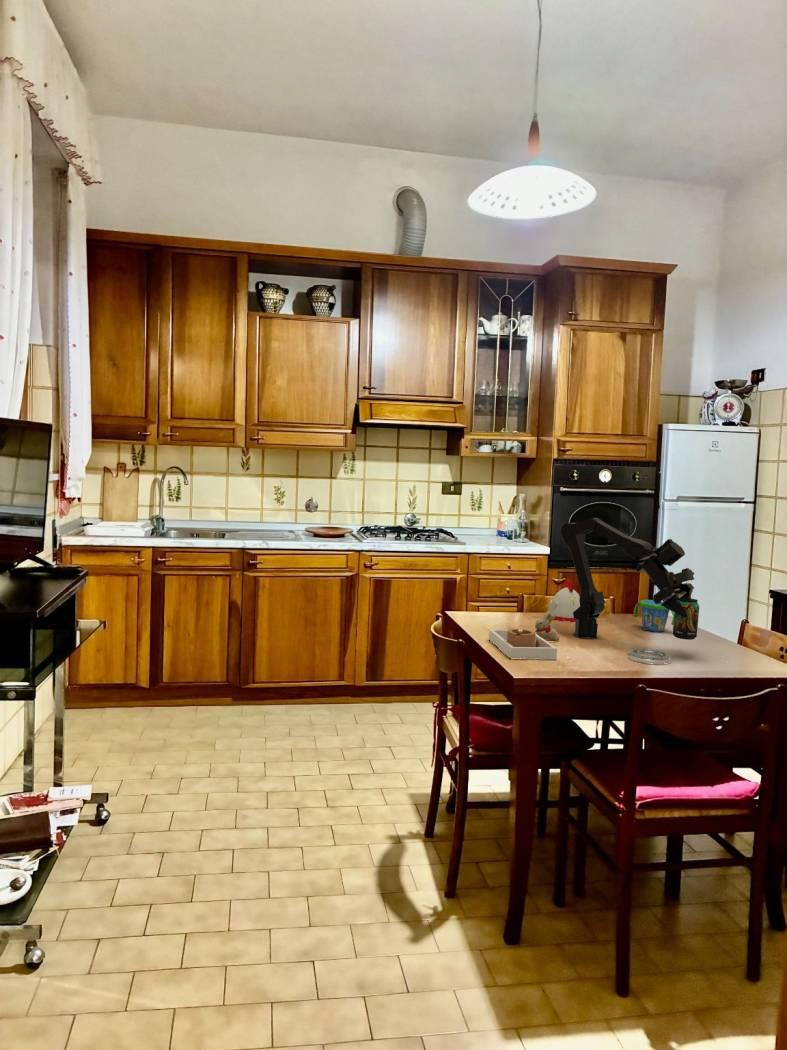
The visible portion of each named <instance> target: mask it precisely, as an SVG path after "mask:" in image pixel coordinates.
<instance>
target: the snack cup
mask: <svg viewBox="0 0 787 1050" xmlns="http://www.w3.org/2000/svg"><path fill="white" fill-rule="evenodd" d="M662 603H663V601H661V604H662ZM661 604H658V605H656V604H655V602H654V601H653V599H643V600H640V601H639V602H637V603H636V604H635V606H634V609H633V616H634V618H638V617H639V607H640V608H641V622H642V623H641V625H642V629H643V630H644V631H649V632H653V633H655V632H656V633H660V632H661V633H663V632H664V631H665V630H666V625H667V622H668V618H669V613H671V615H672V620H671V625H672V626H673V623H674V612H673V611H671V610H669V609H667V608H665V607H664V606H661Z"/></svg>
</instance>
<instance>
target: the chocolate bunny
mask: <svg viewBox="0 0 787 1050" xmlns="http://www.w3.org/2000/svg"><path fill="white" fill-rule="evenodd" d="M554 618H555V617H554V615H552V614H551V613H550V612H549V611H548V610H547V612H545V614H544V615H543V616H542V617H541V618H538V619H536V621H535V630H534V632H535V633H536V634H537V635H538V636H540V637H541V638H543V639H544V640H546V641H557V642H559V641H560V636H559V635H558V632H557V631H556V629H554V628H553V627H551V622H552V621H554V620H553V619H554ZM558 640H559V641H558Z"/></svg>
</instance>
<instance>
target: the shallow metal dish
mask: <svg viewBox="0 0 787 1050" xmlns="http://www.w3.org/2000/svg"><path fill="white" fill-rule="evenodd" d="M627 657H628V658H629V659H628V658H627V659H628V660H630V659H631V660H630V661H632V660H633V661H632V662H635V661H637V662H636V663H639V662H642V663H641V664H643V663H653V664H664V663H669V662H670V663H671V660H672V658H671V656H670V654H669V653H666V652H665V651H663V650H662V651H661V650H658V649H652V648H631V649H630V650H629V651H628V652H627ZM670 663H669V664H670Z"/></svg>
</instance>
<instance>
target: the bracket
mask: <svg viewBox="0 0 787 1050" xmlns="http://www.w3.org/2000/svg"><path fill="white" fill-rule="evenodd" d="M507 630H508V631H507V642H508V643H509V644H511V645H512V646H513V647H536V639H535V633H536V632H535V630H531V629H530V630H529V629H523V628H522V629H521V630H522V632H519V631H518V630H519V628H510V629H509V628H508V629H507Z"/></svg>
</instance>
